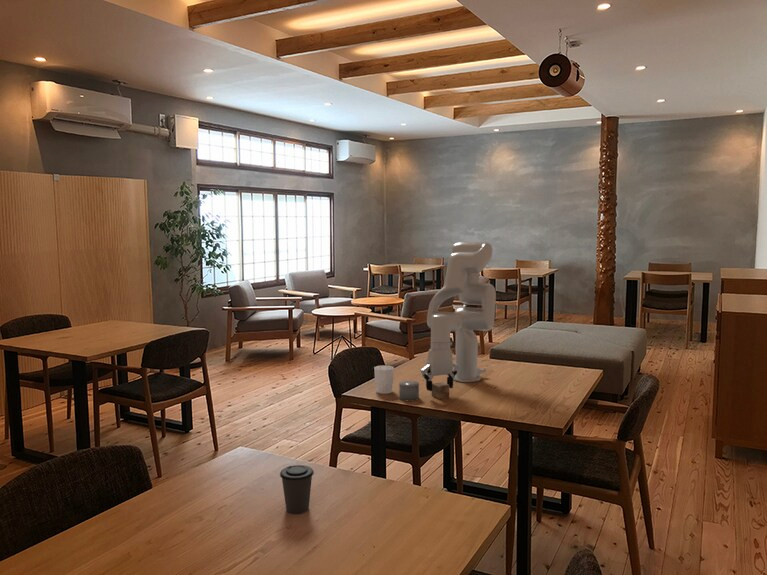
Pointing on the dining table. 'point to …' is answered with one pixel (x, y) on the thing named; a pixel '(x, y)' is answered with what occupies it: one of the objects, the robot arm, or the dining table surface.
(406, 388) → the stoneware pot
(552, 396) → the dining table surface
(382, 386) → the white cup
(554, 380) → the dining table surface
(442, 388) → the walnut cube
